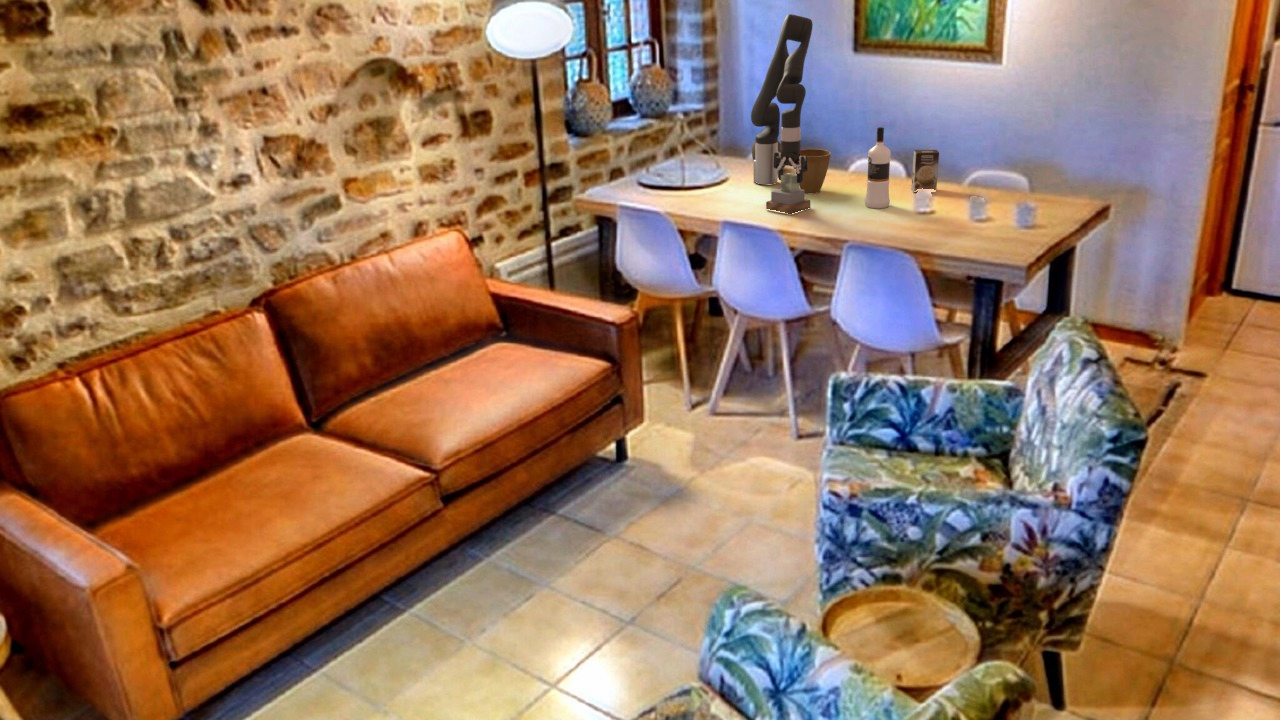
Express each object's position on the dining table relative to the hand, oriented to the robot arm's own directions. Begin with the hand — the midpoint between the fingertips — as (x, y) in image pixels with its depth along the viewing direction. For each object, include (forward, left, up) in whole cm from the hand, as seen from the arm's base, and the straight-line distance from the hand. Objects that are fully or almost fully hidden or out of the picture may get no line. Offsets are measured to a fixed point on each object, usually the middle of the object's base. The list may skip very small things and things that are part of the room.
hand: (790, 181), depth 405 cm
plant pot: (-10, +27, -11) cm, 31 cm away
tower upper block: (-1, -1, -7) cm, 8 cm away
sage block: (0, 0, -3) cm, 3 cm away
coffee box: (+26, +53, -11) cm, 60 cm away
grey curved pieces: (-49, +47, -11) cm, 69 cm away
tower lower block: (0, 0, -11) cm, 12 cm away
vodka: (+24, +23, -11) cm, 35 cm away
